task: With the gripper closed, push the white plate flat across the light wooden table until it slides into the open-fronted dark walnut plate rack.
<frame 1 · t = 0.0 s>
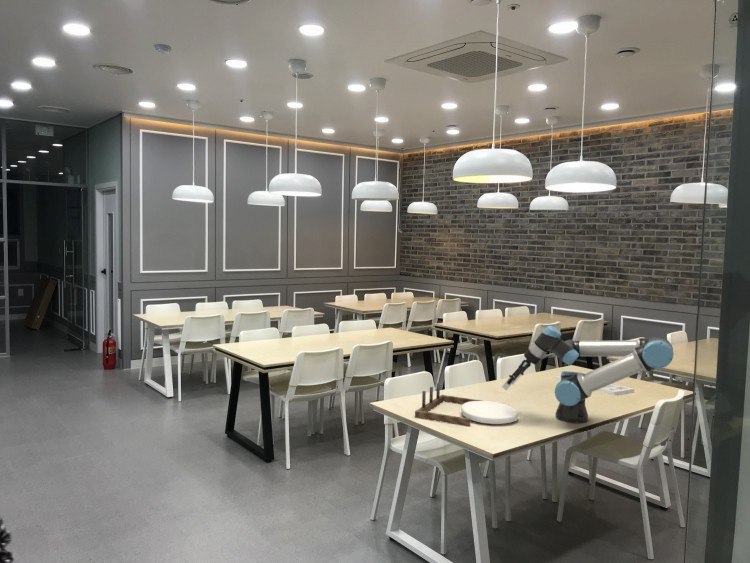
hand: (507, 385, 284), 15 cm above the table, tool tilted 35°, fingers open, 13 cm apart
holder: (592, 386, 355), on the table
plate rack: (457, 412, 289), on the table
plate: (488, 418, 282), on the table
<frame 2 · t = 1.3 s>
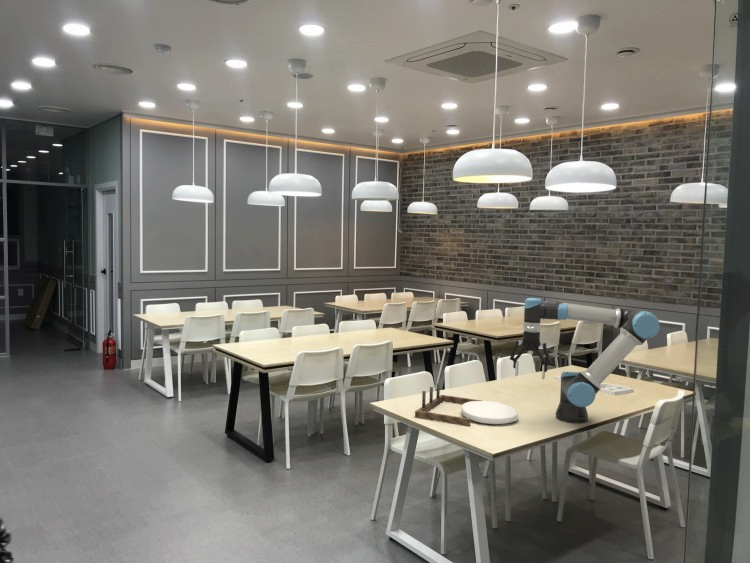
hand: (529, 377, 272), 22 cm above the table, tool pointing down, fingers open, 12 cm apart
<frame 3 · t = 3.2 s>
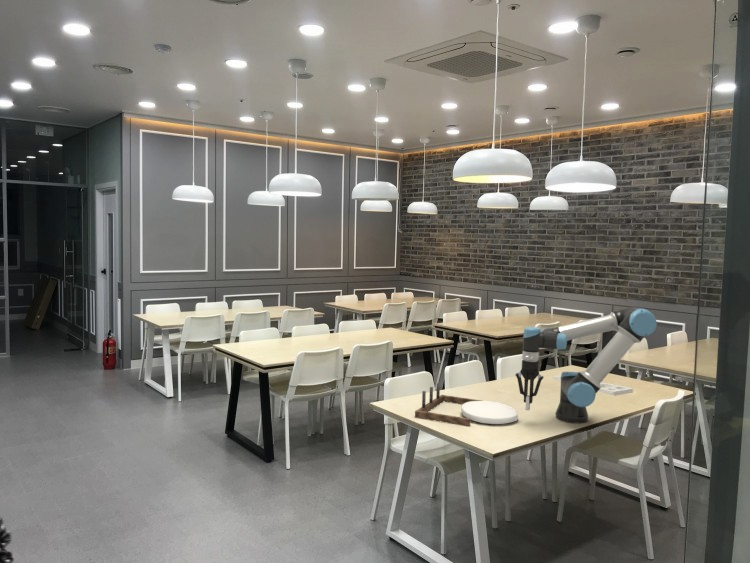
hand: (527, 409, 273), 7 cm above the table, tool pointing down, fingers closed
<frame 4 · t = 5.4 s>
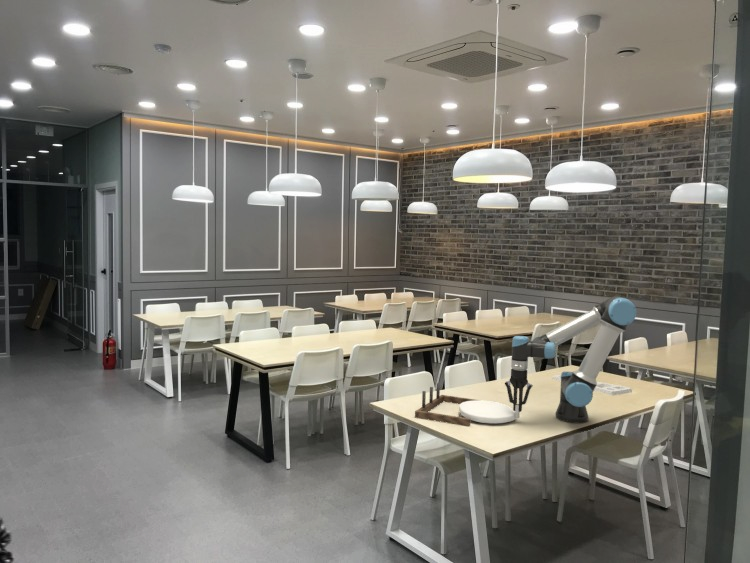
hand: (517, 417, 275), 2 cm above the table, tool pointing down, fingers closed
plate: (486, 417, 282), on the table, touching gripper
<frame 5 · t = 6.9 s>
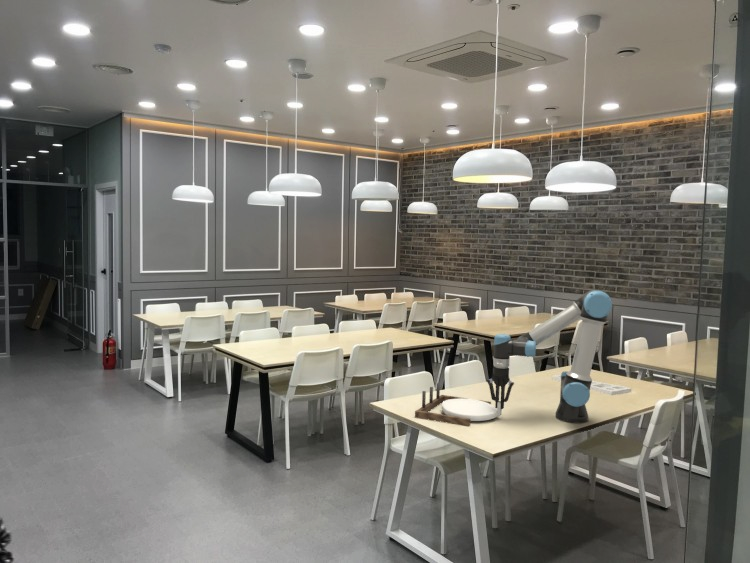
hand: (499, 415, 279), 2 cm above the table, tool pointing down, fingers closed
plate: (468, 415, 285), on the table, touching gripper
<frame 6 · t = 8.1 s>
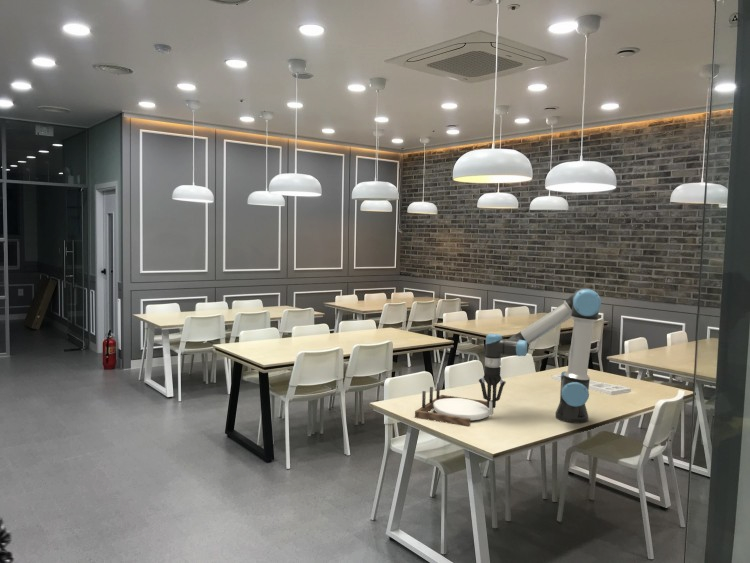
hand: (491, 414, 281), 2 cm above the table, tool pointing down, fingers closed
plate: (460, 415, 286), on the table
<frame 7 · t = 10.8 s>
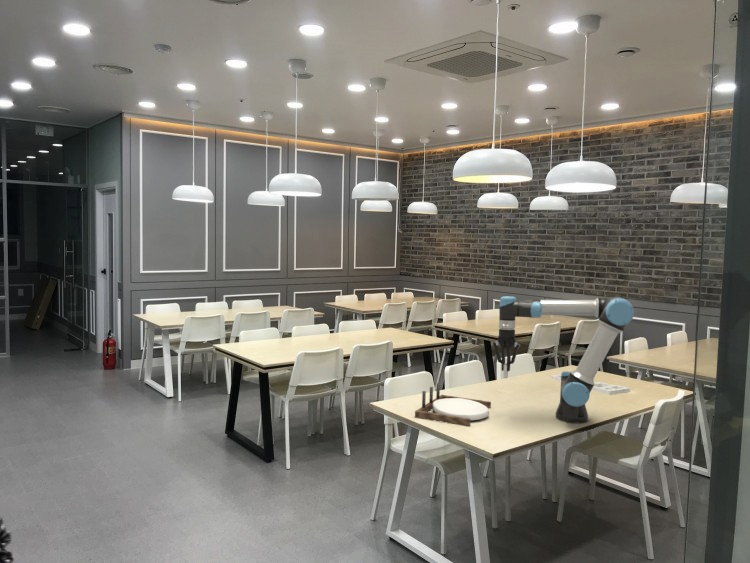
hand: (505, 377, 278), 20 cm above the table, tool pointing down, fingers closed
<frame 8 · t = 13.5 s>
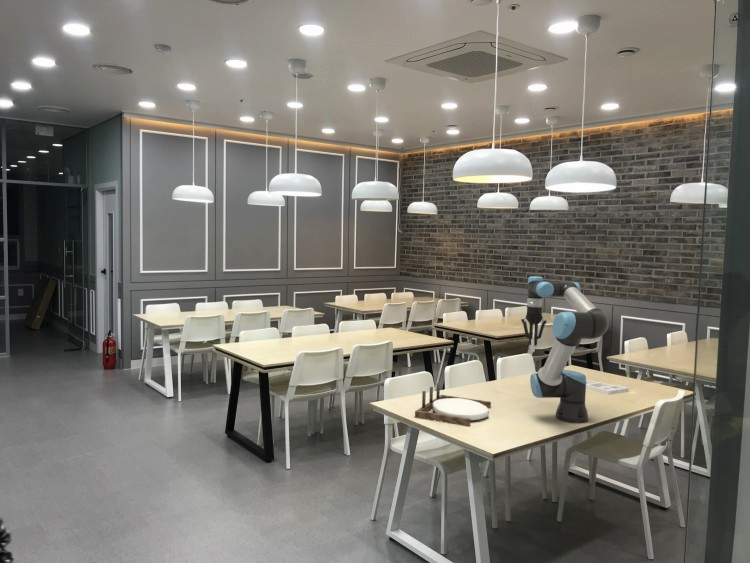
hand: (532, 351, 301), 29 cm above the table, tool pointing down, fingers closed
at the end: plate inside the target area (2.1 cm from its centre), on the table; plate moved 14.0 cm from its start; plate tilted 0° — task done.
